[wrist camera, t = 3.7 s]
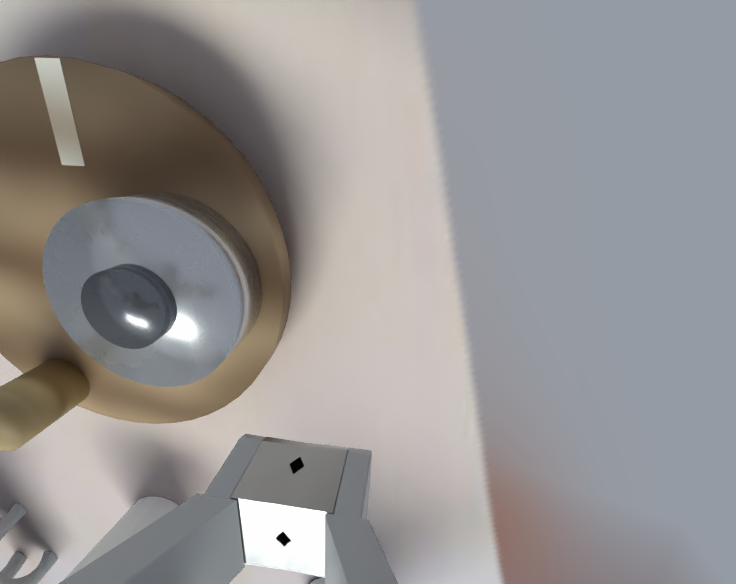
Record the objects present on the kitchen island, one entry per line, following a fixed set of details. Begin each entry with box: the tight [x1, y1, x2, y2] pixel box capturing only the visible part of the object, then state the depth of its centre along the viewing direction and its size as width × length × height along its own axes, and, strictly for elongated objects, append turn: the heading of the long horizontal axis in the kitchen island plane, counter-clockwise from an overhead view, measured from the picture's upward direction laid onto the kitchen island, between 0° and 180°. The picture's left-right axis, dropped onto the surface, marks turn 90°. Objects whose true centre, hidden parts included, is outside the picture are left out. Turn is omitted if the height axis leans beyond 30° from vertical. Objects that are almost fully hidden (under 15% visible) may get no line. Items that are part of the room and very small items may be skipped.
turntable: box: [0, 55, 291, 451], centre depth 18 cm, size 20×20×6 cm
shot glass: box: [64, 496, 179, 580], centre depth 27 cm, size 7×7×7 cm
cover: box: [42, 192, 262, 387], centre depth 17 cm, size 9×9×4 cm
